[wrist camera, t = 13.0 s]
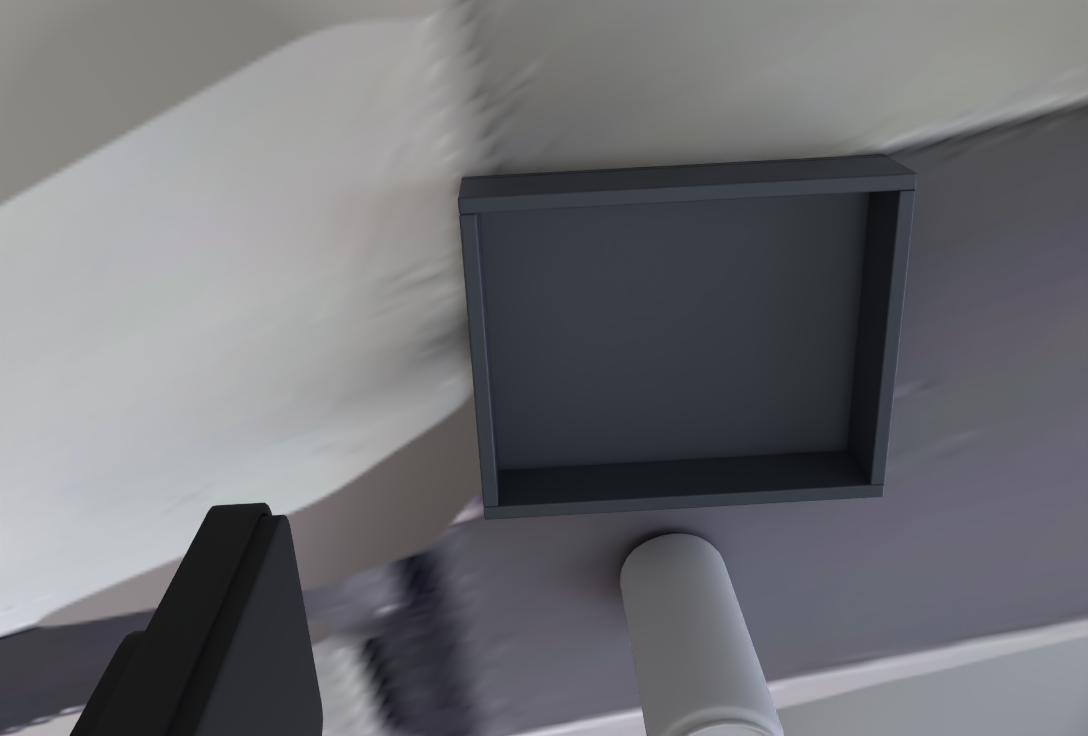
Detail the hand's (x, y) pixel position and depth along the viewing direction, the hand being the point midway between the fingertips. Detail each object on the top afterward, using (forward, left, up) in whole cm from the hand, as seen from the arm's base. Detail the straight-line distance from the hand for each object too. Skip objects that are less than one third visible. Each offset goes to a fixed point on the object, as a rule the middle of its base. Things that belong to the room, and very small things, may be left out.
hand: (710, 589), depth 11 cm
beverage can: (+20, +4, -28) cm, 35 cm away
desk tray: (+8, +4, -28) cm, 30 cm away
